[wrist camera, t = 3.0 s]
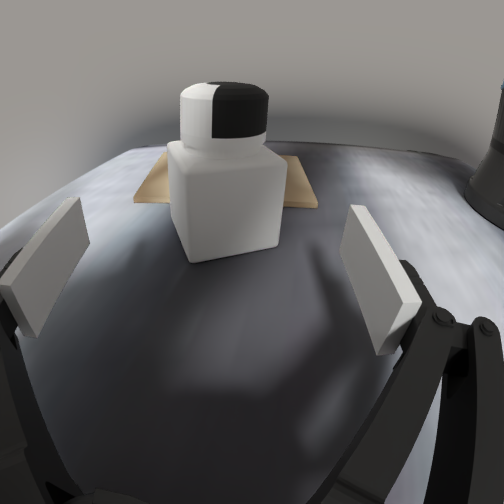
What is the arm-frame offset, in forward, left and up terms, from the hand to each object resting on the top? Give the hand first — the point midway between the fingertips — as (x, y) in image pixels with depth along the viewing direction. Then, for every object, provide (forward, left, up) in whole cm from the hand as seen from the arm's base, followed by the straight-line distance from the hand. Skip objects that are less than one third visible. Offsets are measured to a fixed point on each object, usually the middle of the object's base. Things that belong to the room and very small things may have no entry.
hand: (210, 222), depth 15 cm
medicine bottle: (0, -10, -7) cm, 12 cm away
